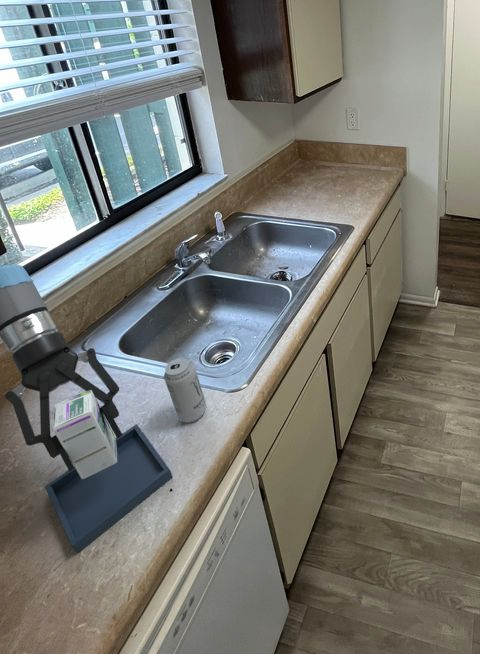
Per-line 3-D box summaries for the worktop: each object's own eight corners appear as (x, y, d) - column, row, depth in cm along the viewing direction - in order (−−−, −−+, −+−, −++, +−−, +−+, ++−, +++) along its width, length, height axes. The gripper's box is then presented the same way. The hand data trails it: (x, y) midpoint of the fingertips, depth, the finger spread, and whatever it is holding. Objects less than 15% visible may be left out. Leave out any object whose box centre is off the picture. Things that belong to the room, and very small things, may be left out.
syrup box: (118, 462, 82) (93, 410, 75) (80, 481, 79) (51, 428, 72) (116, 439, 86) (92, 387, 80) (80, 455, 83) (52, 403, 77)
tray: (49, 494, 84) (44, 486, 83) (139, 431, 96) (136, 423, 95) (77, 554, 75) (71, 546, 74) (172, 477, 87) (169, 469, 86)
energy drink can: (205, 420, 98) (190, 373, 92) (176, 428, 97) (159, 380, 90) (208, 398, 103) (194, 352, 97) (181, 405, 102) (164, 358, 95)
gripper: (-41, 374, 71) (26, 500, 68) (97, 308, 84) (156, 411, 82) (-33, 380, 76) (30, 497, 74) (95, 317, 90) (151, 414, 87)
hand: (96, 452), depth 78 cm, fingers closed on syrup box, 7 cm apart
